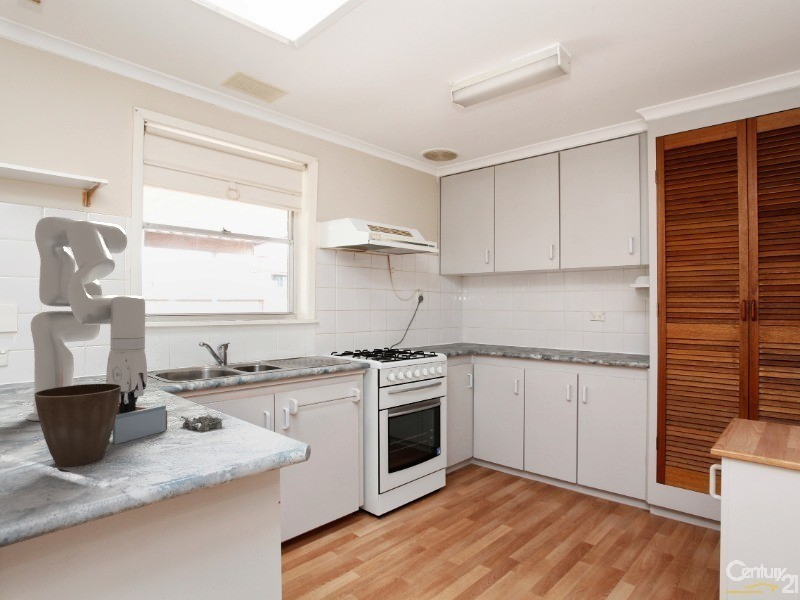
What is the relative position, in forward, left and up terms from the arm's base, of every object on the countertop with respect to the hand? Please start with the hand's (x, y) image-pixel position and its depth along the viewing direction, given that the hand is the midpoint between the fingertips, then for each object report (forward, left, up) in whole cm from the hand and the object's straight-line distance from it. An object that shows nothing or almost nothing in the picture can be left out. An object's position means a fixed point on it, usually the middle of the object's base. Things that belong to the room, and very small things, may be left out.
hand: (127, 418), depth 118 cm
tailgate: (+5, 0, -4) cm, 6 cm away
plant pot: (+10, -17, -5) cm, 20 cm away
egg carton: (+10, +14, -6) cm, 18 cm away
